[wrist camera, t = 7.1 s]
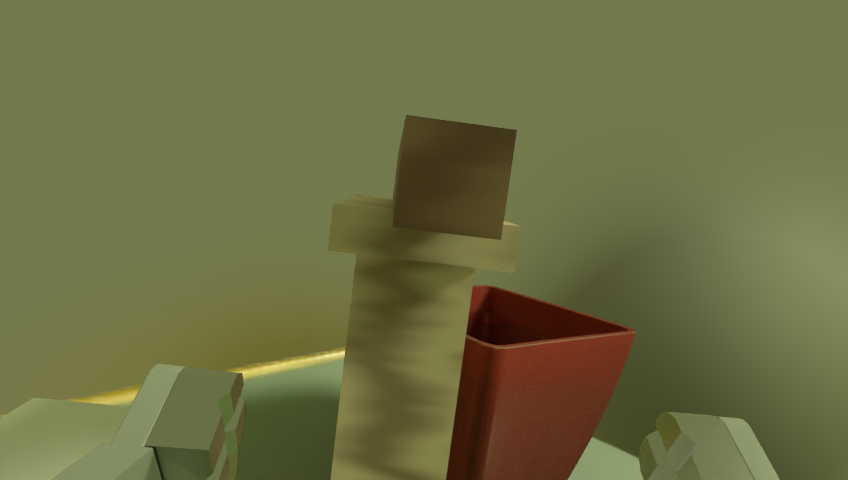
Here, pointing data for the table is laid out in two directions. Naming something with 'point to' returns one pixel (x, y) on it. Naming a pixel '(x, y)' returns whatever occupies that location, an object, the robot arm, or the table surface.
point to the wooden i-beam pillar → (404, 339)
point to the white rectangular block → (57, 437)
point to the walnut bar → (452, 177)
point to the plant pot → (531, 387)
